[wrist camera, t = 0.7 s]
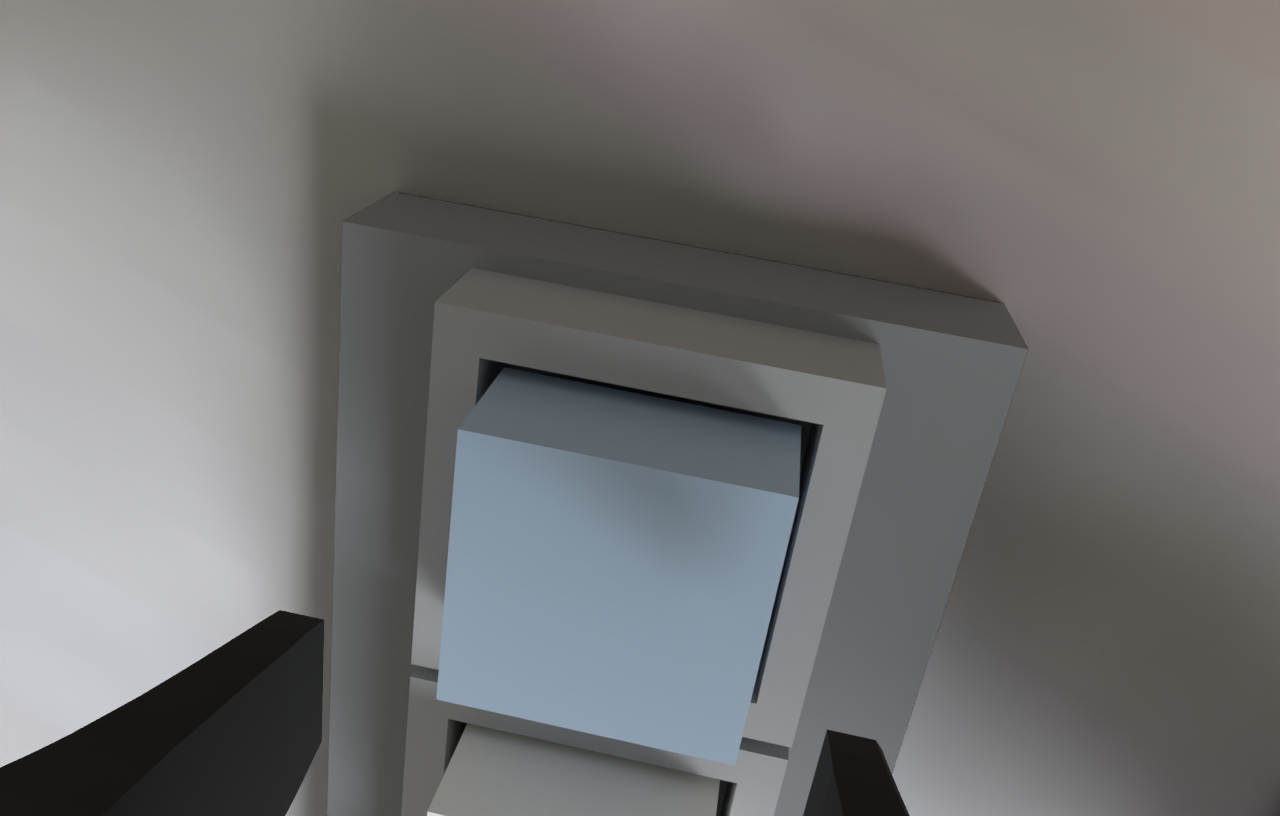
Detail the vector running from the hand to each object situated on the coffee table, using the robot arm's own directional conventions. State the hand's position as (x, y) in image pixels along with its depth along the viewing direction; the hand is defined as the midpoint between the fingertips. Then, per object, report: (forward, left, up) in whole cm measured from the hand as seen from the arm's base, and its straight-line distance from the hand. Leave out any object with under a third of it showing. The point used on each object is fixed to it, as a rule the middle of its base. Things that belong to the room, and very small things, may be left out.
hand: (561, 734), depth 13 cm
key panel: (0, +7, -9) cm, 12 cm away
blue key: (0, 0, -5) cm, 5 cm away
